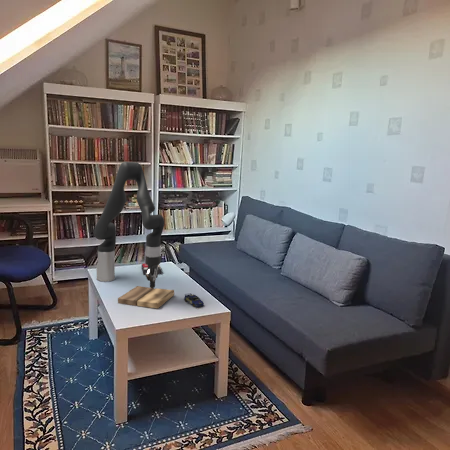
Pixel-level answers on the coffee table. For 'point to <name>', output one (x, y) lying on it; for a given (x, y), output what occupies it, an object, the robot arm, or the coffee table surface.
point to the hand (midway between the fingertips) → (152, 287)
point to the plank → (155, 298)
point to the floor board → (134, 295)
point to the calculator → (144, 269)
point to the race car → (194, 300)
